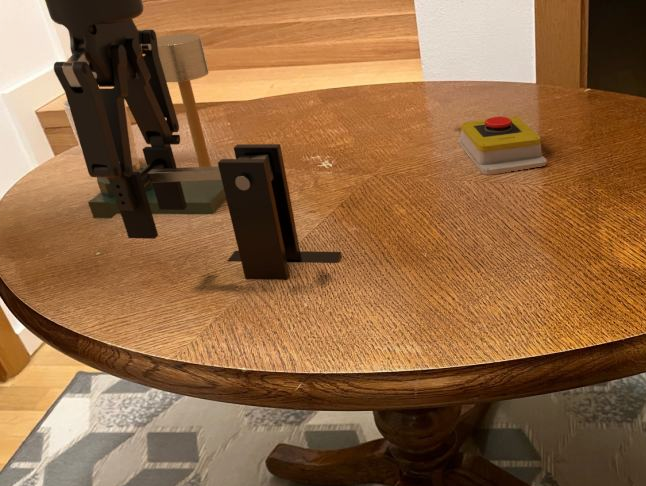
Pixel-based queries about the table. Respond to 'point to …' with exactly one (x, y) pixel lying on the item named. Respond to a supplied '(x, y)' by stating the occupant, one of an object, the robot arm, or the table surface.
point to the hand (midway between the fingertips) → (158, 221)
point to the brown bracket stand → (263, 214)
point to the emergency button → (501, 145)
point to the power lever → (186, 172)
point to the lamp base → (197, 196)
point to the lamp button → (135, 165)
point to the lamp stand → (186, 80)
